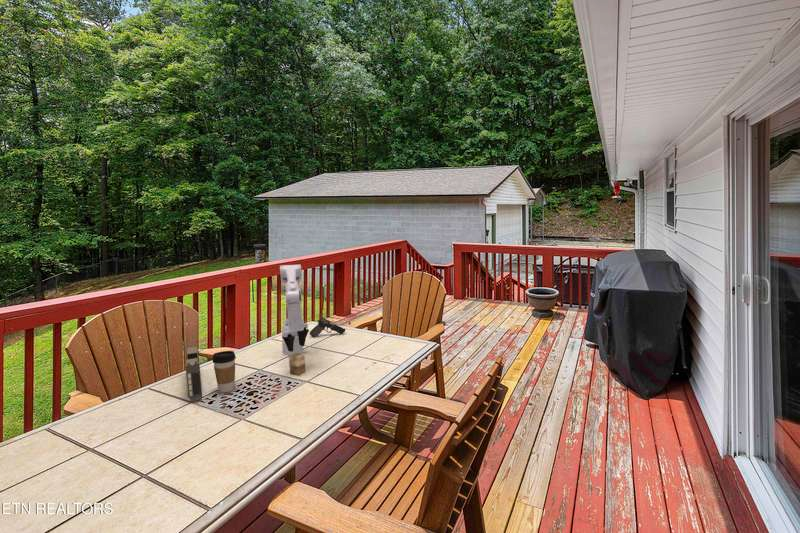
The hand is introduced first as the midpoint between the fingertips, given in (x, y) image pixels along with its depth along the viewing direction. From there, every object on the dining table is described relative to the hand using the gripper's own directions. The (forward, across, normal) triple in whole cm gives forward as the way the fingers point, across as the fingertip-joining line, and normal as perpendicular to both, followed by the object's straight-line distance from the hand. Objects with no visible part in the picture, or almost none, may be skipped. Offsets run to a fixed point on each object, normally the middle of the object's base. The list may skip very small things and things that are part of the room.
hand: (296, 348), depth 177 cm
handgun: (+11, +48, +17) cm, 52 cm away
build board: (+10, -3, 0) cm, 11 cm away
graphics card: (+11, -28, +29) cm, 42 cm away
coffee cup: (+10, -26, +14) cm, 31 cm away
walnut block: (+10, -4, -3) cm, 11 cm away
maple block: (+6, -4, -3) cm, 7 cm away
